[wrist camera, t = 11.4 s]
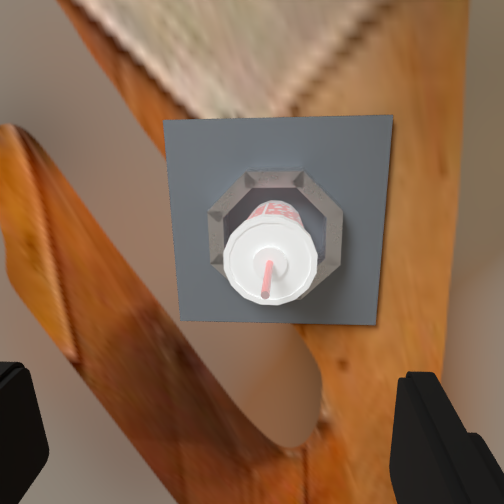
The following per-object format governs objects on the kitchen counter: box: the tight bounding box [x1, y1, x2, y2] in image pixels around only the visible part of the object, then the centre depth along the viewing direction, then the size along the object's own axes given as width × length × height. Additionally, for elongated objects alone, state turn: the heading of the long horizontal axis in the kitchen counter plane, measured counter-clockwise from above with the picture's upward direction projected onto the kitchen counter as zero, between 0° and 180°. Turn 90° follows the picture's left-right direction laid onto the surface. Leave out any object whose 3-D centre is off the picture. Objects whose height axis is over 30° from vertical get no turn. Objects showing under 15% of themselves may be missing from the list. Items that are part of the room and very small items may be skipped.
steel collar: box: [207, 166, 343, 300], centre depth 33 cm, size 10×10×3 cm
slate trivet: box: [163, 115, 393, 325], centre depth 35 cm, size 18×18×1 cm
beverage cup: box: [223, 200, 318, 305], centre depth 28 cm, size 6×6×14 cm
